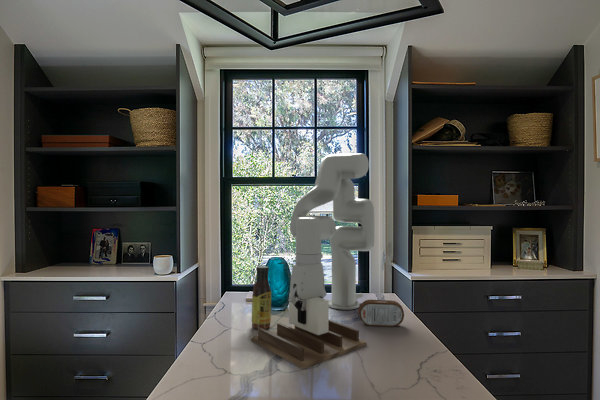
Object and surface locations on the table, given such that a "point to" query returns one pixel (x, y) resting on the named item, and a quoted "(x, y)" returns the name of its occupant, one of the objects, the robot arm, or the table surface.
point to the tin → (381, 313)
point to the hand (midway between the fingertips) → (307, 320)
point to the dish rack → (309, 343)
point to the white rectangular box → (312, 315)
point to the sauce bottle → (261, 300)
